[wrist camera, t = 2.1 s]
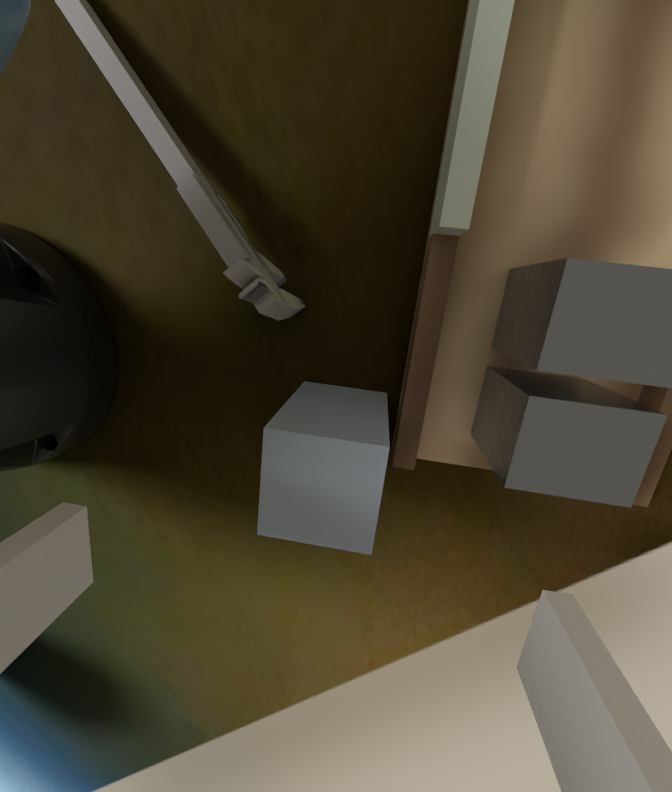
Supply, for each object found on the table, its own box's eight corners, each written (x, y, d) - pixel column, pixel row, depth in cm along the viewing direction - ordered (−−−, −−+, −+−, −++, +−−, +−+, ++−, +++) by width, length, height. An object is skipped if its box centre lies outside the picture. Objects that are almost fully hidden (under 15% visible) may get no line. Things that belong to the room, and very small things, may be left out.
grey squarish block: (470, 434, 21) (504, 487, 15) (486, 365, 20) (529, 395, 14) (561, 447, 21) (631, 507, 15) (583, 378, 19) (667, 414, 14)
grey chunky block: (491, 347, 20) (536, 370, 14) (509, 268, 18) (567, 257, 13) (589, 360, 19) (677, 389, 13) (614, 280, 18) (723, 274, 12)
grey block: (297, 456, 24) (257, 534, 16) (304, 381, 22) (263, 427, 15) (374, 468, 23) (371, 555, 16) (387, 392, 22) (389, 447, 14)
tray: (429, 238, 18) (439, 226, 15) (483, -76, 15) (512, -181, 12) (714, 268, 17) (793, 262, 14) (842, -64, 14) (987, -176, 11)
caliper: (308, 305, 21) (280, 311, 15) (294, 317, 21) (260, 326, 15) (60, -39, 18) (-100, -203, 12) (46, -20, 18) (-116, -172, 12)
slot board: (391, 449, 23) (392, 466, 20) (478, -58, 16) (494, -118, 14) (619, 484, 22) (647, 507, 19) (818, -45, 15) (898, -107, 12)
